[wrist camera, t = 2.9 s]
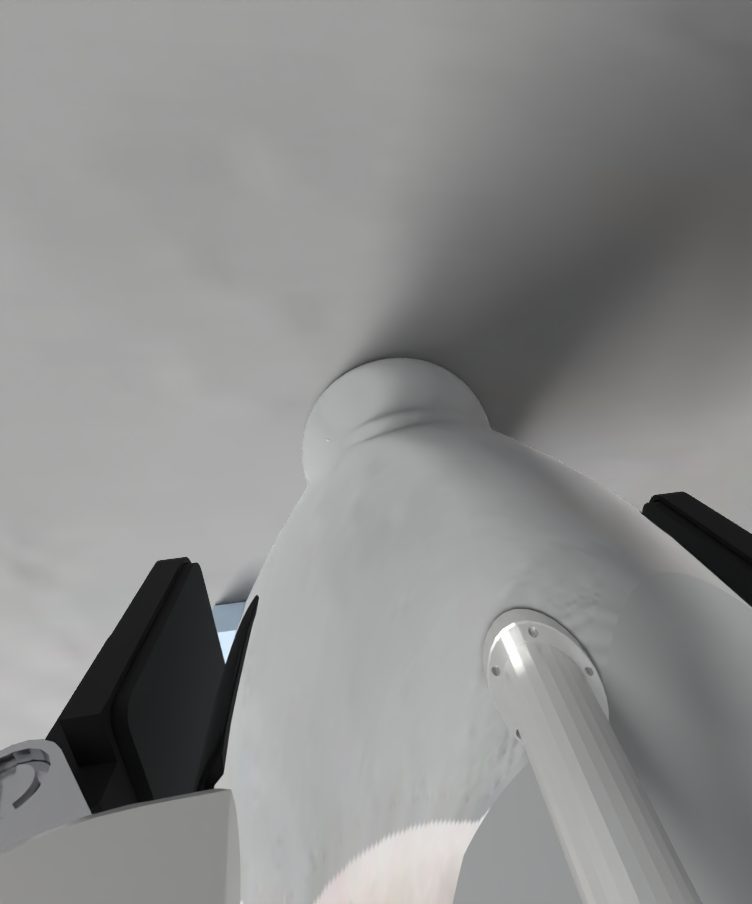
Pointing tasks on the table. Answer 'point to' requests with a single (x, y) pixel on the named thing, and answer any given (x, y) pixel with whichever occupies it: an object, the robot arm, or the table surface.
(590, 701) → the beer glass
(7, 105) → the table surface
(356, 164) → the table surface
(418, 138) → the table surface
